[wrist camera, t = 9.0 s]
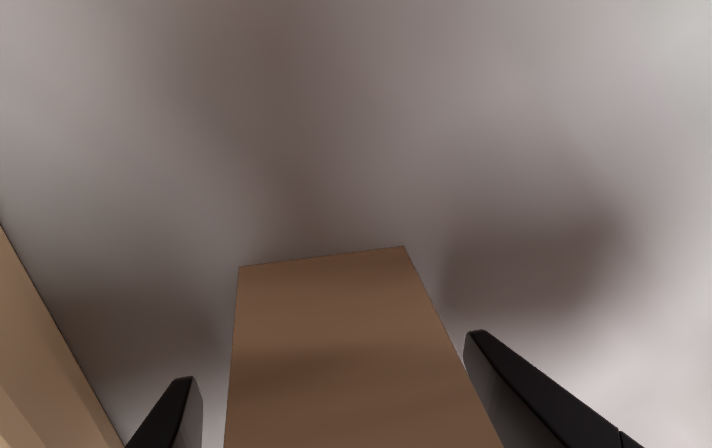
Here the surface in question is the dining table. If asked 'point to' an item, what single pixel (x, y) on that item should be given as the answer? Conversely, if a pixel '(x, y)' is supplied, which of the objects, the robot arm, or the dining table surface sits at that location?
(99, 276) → the dining table surface
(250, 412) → the walnut block
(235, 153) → the dining table surface
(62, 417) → the box
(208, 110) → the dining table surface
